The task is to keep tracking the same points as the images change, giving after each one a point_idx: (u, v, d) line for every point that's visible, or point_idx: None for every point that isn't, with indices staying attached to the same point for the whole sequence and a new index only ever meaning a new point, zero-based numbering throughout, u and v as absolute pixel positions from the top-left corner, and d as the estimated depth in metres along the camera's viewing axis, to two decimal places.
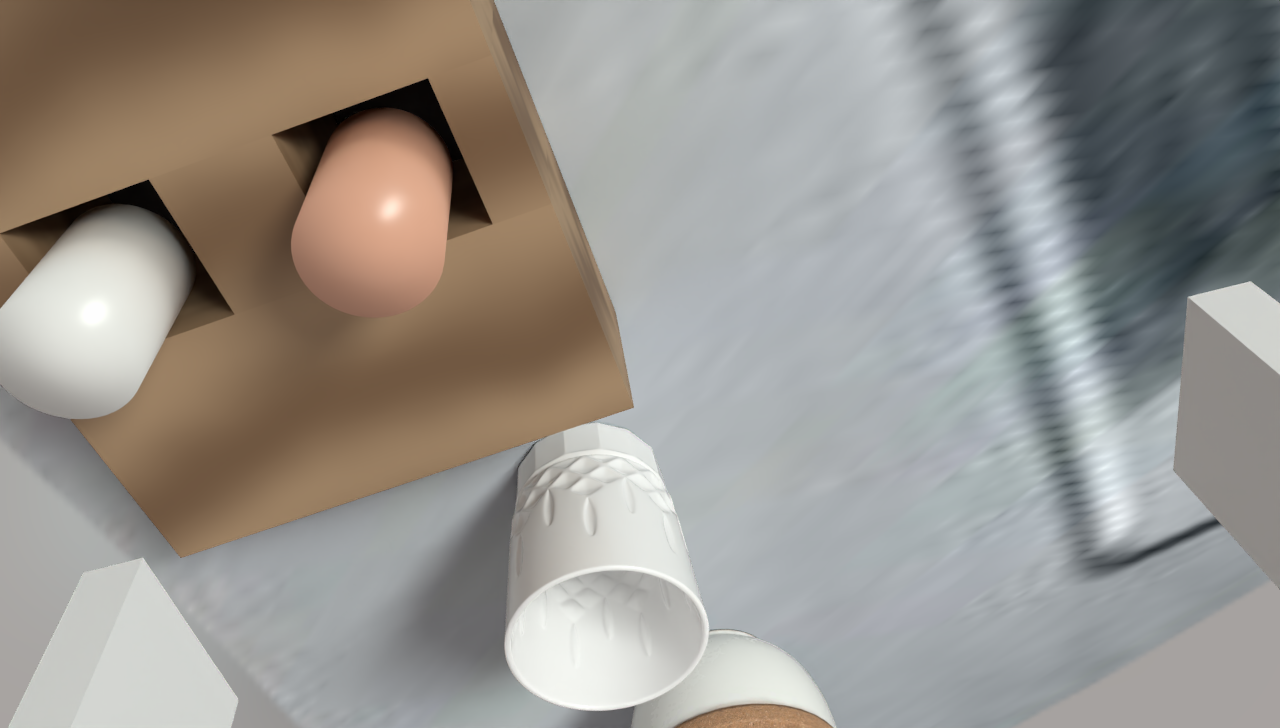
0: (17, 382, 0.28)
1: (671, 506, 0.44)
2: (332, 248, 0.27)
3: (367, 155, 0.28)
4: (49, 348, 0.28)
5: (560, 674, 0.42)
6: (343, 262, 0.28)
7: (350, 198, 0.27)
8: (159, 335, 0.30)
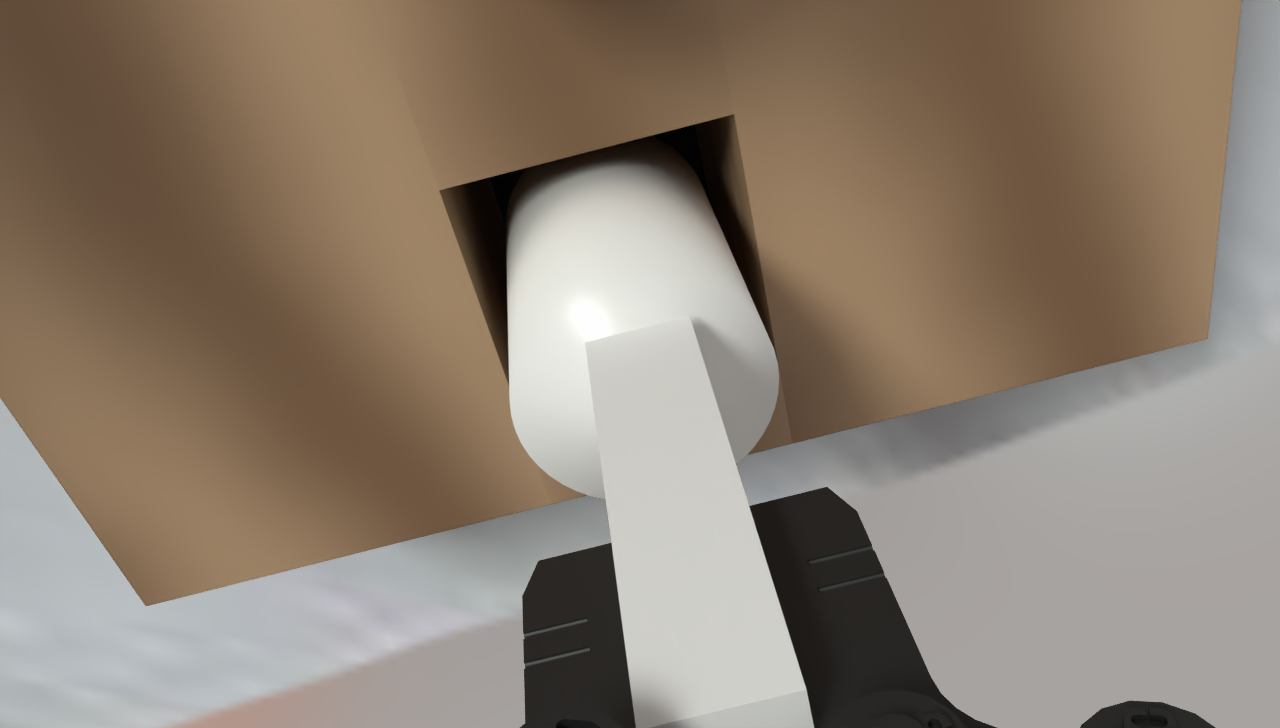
0: None
1: None
2: None
3: None
4: None
5: None
6: None
7: None
8: (668, 227, 0.16)
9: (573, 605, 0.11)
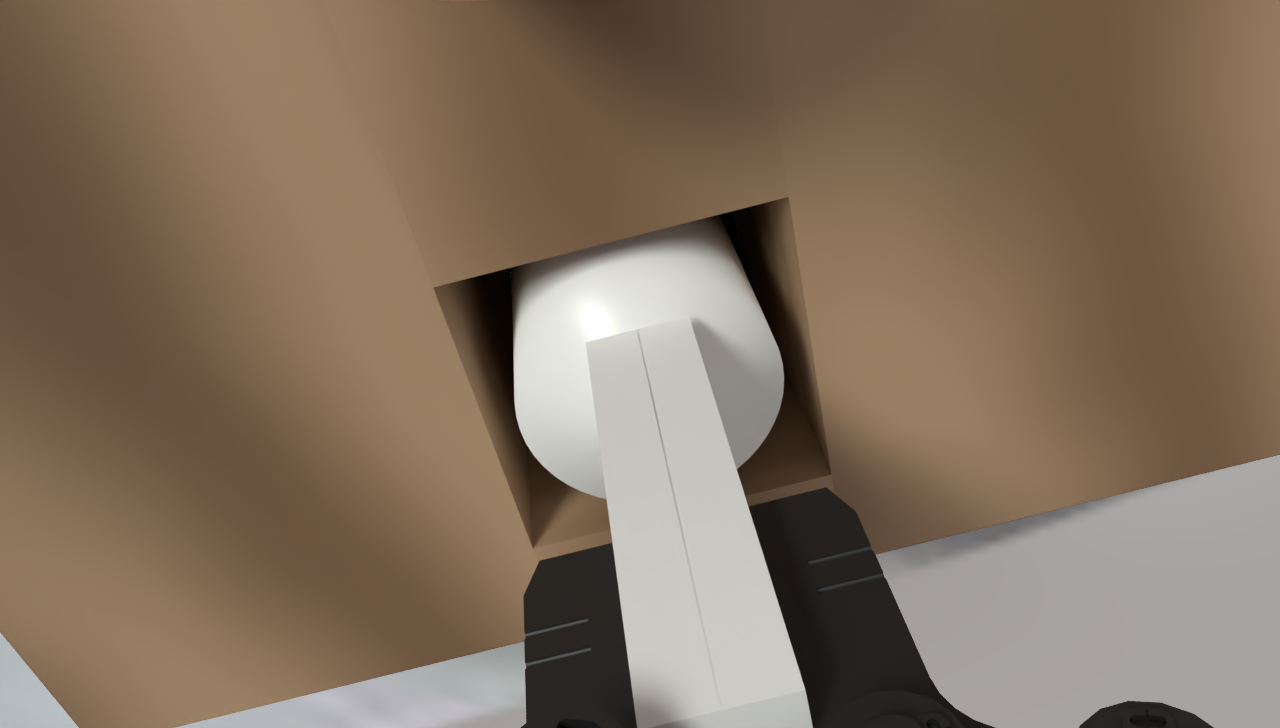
0: None
1: None
2: None
3: None
4: None
5: None
6: None
7: None
8: (673, 227, 0.16)
9: (574, 605, 0.11)
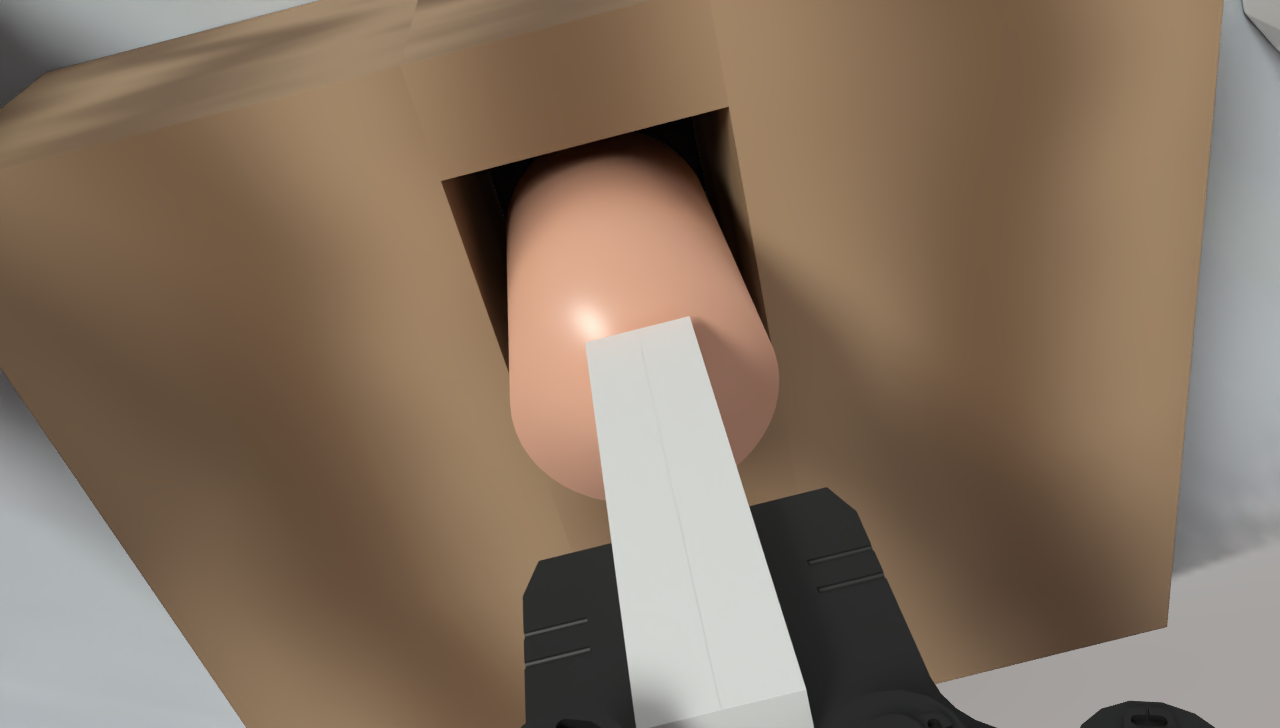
0: None
1: None
2: None
3: (508, 326, 0.17)
4: None
5: None
6: None
7: (539, 412, 0.15)
8: None
9: (573, 605, 0.11)
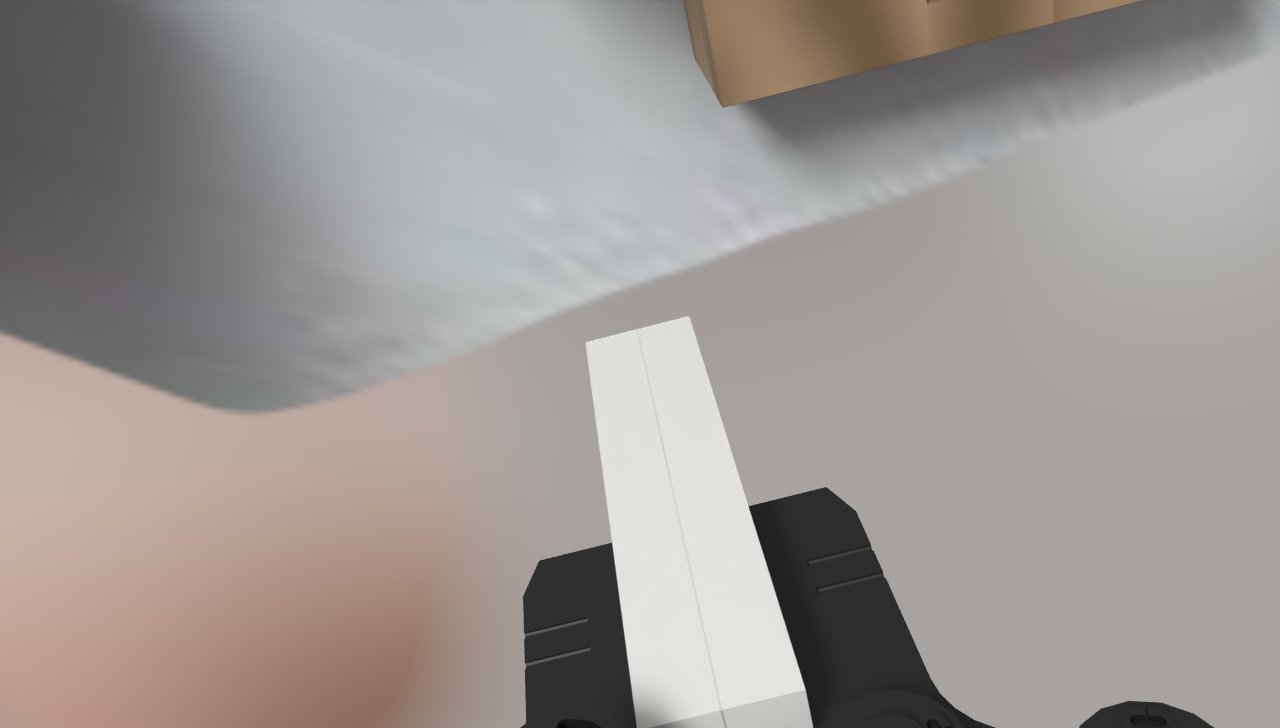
0: None
1: None
2: None
3: None
4: None
5: None
6: None
7: None
8: None
9: (574, 605, 0.11)
